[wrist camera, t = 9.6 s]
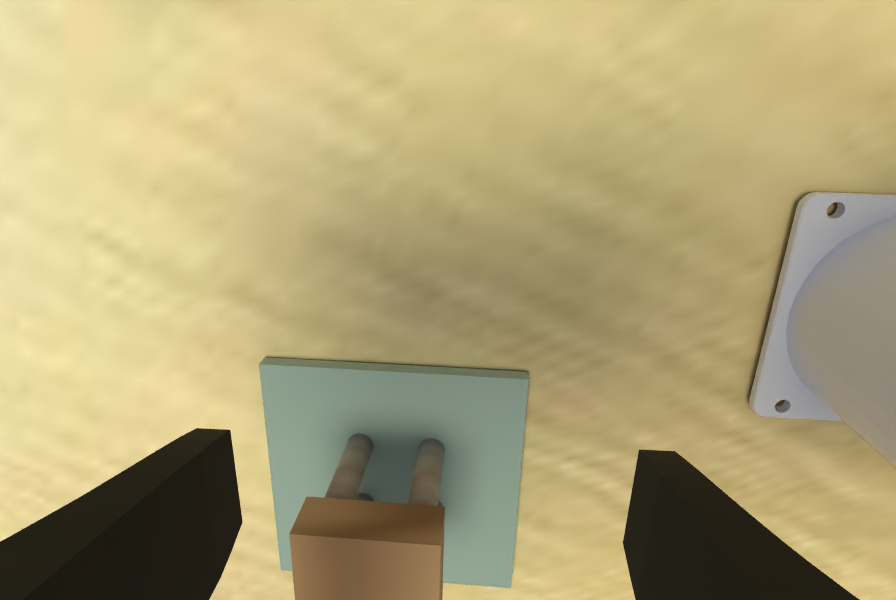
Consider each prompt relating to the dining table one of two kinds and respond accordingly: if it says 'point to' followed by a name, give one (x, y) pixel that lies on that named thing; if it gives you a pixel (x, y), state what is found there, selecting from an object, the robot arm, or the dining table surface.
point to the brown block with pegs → (371, 534)
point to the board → (403, 447)
